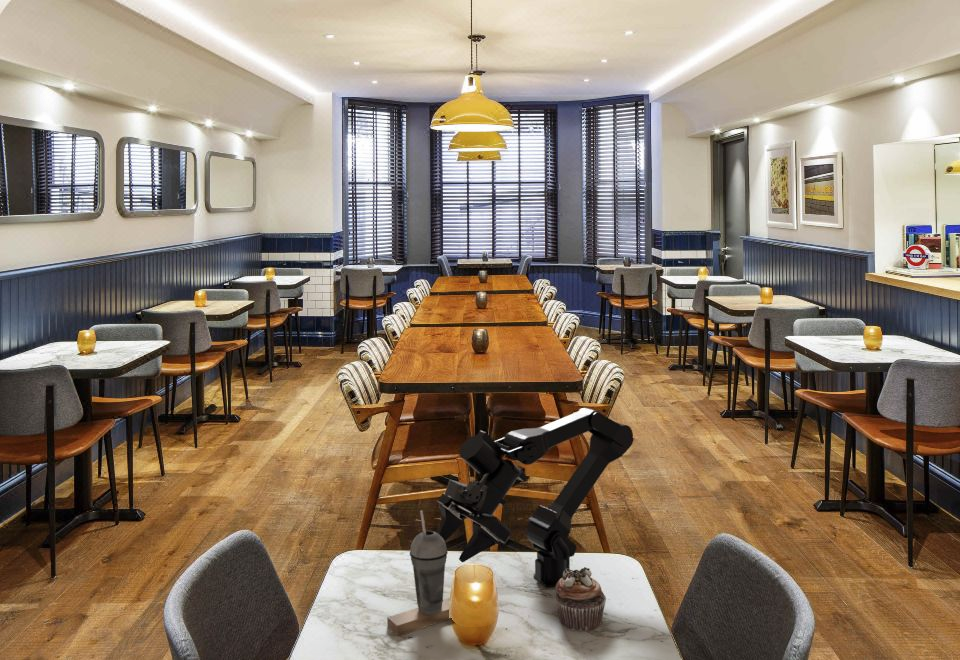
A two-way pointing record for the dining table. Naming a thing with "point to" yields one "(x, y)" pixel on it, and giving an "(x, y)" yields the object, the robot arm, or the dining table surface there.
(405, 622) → the walnut block
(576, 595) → the cupcake
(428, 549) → the beverage cup
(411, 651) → the dining table surface
